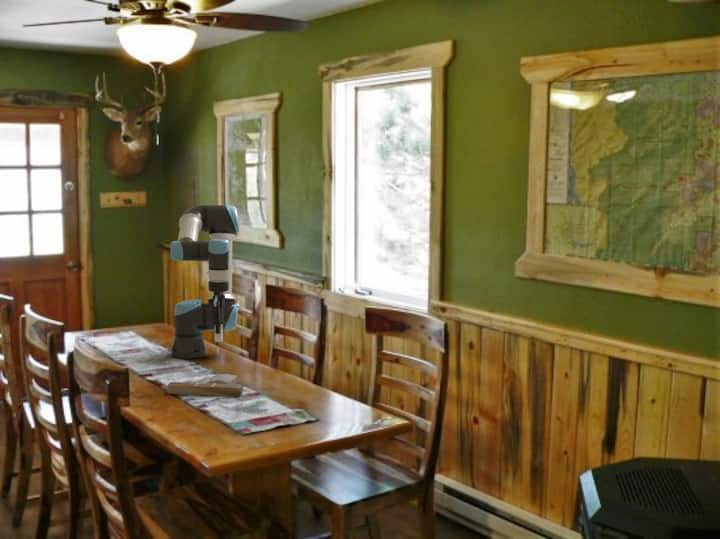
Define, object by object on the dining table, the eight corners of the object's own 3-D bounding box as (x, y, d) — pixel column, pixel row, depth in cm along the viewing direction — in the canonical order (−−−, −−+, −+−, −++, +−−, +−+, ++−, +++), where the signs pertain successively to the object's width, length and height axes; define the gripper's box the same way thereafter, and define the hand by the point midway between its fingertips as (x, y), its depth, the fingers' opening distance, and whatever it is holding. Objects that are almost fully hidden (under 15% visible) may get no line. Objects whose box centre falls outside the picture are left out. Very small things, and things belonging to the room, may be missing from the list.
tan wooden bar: (170, 390, 280) (170, 381, 280) (242, 392, 280) (242, 384, 279) (167, 393, 276) (167, 384, 276) (240, 396, 276) (240, 387, 275)
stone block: (205, 395, 282) (231, 391, 281) (202, 382, 282) (229, 378, 281) (214, 387, 294) (239, 383, 293) (211, 375, 294) (237, 371, 293)
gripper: (212, 277, 301) (212, 336, 305) (204, 283, 288) (204, 345, 292) (231, 277, 301) (231, 337, 305) (224, 283, 288) (224, 345, 292)
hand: (218, 341), depth 298 cm, fingers closed
